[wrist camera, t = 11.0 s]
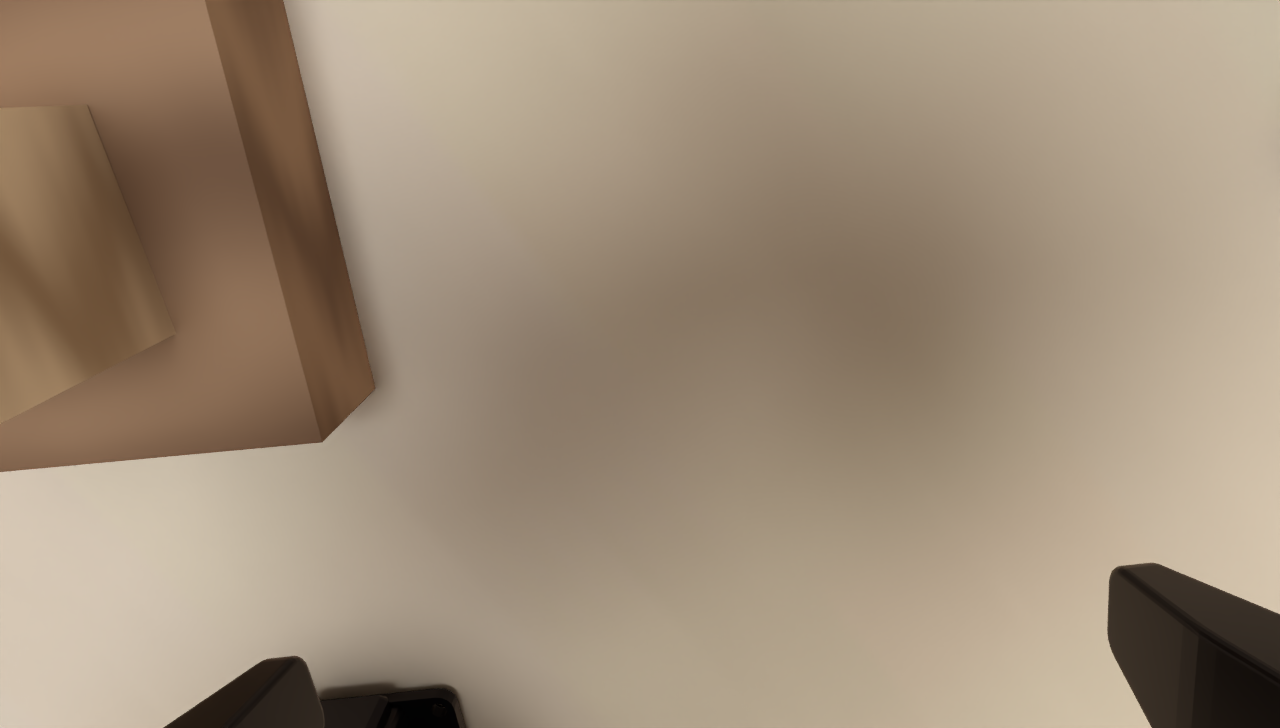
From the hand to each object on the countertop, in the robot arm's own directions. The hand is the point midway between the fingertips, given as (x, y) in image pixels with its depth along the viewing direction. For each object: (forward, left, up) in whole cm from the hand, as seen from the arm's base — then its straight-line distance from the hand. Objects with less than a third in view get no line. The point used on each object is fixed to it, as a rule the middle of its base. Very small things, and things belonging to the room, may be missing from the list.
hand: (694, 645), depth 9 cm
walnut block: (+5, +14, -14) cm, 20 cm away
